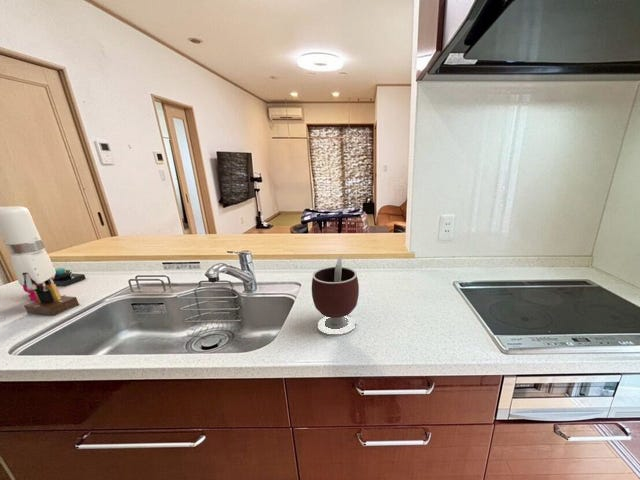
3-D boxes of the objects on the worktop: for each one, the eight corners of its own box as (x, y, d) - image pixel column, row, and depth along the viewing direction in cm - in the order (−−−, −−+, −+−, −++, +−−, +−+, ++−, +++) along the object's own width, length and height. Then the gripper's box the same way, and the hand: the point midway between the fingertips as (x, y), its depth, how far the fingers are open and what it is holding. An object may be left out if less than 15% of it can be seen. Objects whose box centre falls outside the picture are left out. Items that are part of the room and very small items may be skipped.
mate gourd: (354, 339, 85) (354, 275, 77) (308, 335, 86) (303, 272, 79) (362, 313, 99) (362, 256, 92) (322, 310, 101) (319, 254, 93)
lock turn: (39, 303, 97) (31, 287, 95) (42, 300, 99) (35, 285, 96) (58, 301, 99) (51, 285, 96) (61, 298, 100) (55, 283, 98)
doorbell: (39, 284, 118) (35, 275, 116) (61, 277, 125) (58, 268, 124) (65, 286, 116) (61, 277, 115) (86, 279, 124) (82, 270, 122)
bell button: (51, 275, 118) (49, 270, 117) (61, 271, 121) (59, 267, 121) (58, 275, 118) (57, 271, 117) (68, 272, 121) (67, 268, 120)
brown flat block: (25, 314, 96) (21, 305, 95) (56, 301, 105) (53, 293, 103) (51, 317, 95) (47, 308, 94) (81, 303, 103) (77, 295, 102)
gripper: (27, 241, 97) (49, 292, 104) (-10, 256, 83) (19, 313, 90) (56, 239, 100) (76, 289, 107) (25, 253, 86) (51, 309, 93)
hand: (50, 299), depth 98 cm, fingers closed on lock turn, 2 cm apart
